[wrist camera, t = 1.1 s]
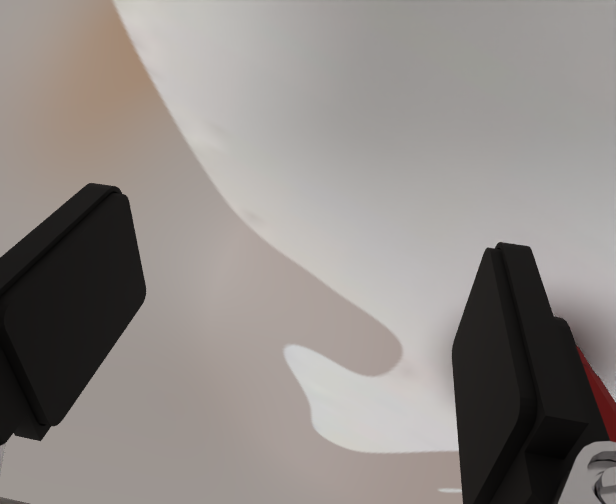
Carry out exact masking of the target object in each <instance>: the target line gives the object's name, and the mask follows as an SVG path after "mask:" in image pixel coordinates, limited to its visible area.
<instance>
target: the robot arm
mask: <svg viewBox="0 0 616 504" xmlns="http://www.w3.org/2000/svg"><path fill="white" fill-rule="evenodd" d="M145 296H146V285H145V280H144V276H143V270H142V265H141V260H140V255H139V250H138V245H137V239H136V234H135V229H134V224H133V219H132V214H131V210H130V204H129V200H128V197H127V196H126V195H124V194H122V192H121V190H120V189H119V188H118V187H116V186H109V185H102V184H95V183H89V184H87V185H86V186H85V187H84V188H82V189H81V190H80V191H79V192H78V193H77V194H75V195H74V196H73V197H72V198H70V199H69V200H68V201H67V202H66V203H65V204H63V205H62V206H61V207H60V208H59V209H58V210H56V211H55V212H54V213H53V214H52V215H50V217H48V218H47V219H46V220H44V221H43V222H42V223H41V224H40V225H39V226H37V227H36V228H35V229H34V230H33V231H31V232H30V233H29V234H28V235H27V236H25V237H24V238H23V239H22V240H21V241H20V242H18V243H17V244H16V245H15V246H14V247H12V248H11V249H10V250H9V251H8V252H7V253H5V254H4V255H3V256H2V257H1V258H0V473H1V467H2V461H3V455H4V449H5V443H6V442H7V440H8V439H9V438H10V437H11V435H12V434H13V433H14V434H15V436H19V437H24V438H29V439H33V440H38V441H41V440H42V439H43V437H44V436H45V434H46V433H47V432H48V430H49V429H50V427H51V426H56V425H58V424H59V423H60V422H61V421H62V420H63V418H64V417H65V416H66V414H67V413H68V411H69V410H70V408H71V407H72V406H73V404H74V403H75V401H76V400H77V398H78V397H79V395H80V394H81V392H82V391H83V390H84V388H85V387H86V385H87V384H88V382H89V381H90V379H91V378H92V377H93V375H94V374H95V372H96V371H97V369H98V367H99V366H100V365H101V363H102V362H103V361H104V359H105V358H106V356H107V355H108V353H109V352H110V350H111V349H112V347H113V346H114V345H115V343H116V342H117V340H118V339H119V337H120V336H121V334H122V333H123V332H124V330H125V329H126V327H127V326H128V324H129V323H130V321H131V320H132V319H133V317H134V316H135V314H136V313H137V311H138V310H139V308H140V307H141V305H142V304H143V302H144V299H145ZM452 365H453V378H454V391H455V404H456V417H457V430H458V444H459V456H460V470H461V483H462V495H463V504H616V442H611V441H610V438H609V436H608V433H607V430H606V427H605V425H604V422H603V419H602V416H601V413H600V411H599V408H598V405H597V402H596V400H595V397H594V394H593V391H592V388H591V386H590V383H589V380H588V377H587V375H586V372H585V369H584V366H583V363H582V361H581V358H580V355H579V352H578V350H577V347H576V344H575V341H574V339H573V336H572V333H571V330H570V327H569V326H568V324H567V322H566V321H565V320H564V319H563V318H558V317H554V316H553V313H552V310H551V307H550V304H549V301H548V298H547V295H546V292H545V289H544V286H543V283H542V280H541V277H540V274H539V271H538V268H537V265H536V262H535V259H534V256H533V253H532V250H531V248H530V247H529V246H523V245H516V244H509V243H503V242H499V243H498V244H497V245H496V247H495V249H493V248H486V250H485V252H484V254H483V257H482V260H481V263H480V266H479V269H478V272H477V275H476V278H475V281H474V284H473V286H472V289H471V292H470V295H469V298H468V301H467V304H466V307H465V310H464V313H463V316H462V319H461V322H460V325H459V327H458V330H457V333H456V336H455V339H454V343H453V348H452ZM0 504H29V503H24V502H20V501H15V500H10V499H7V498H2V497H0Z"/></svg>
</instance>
